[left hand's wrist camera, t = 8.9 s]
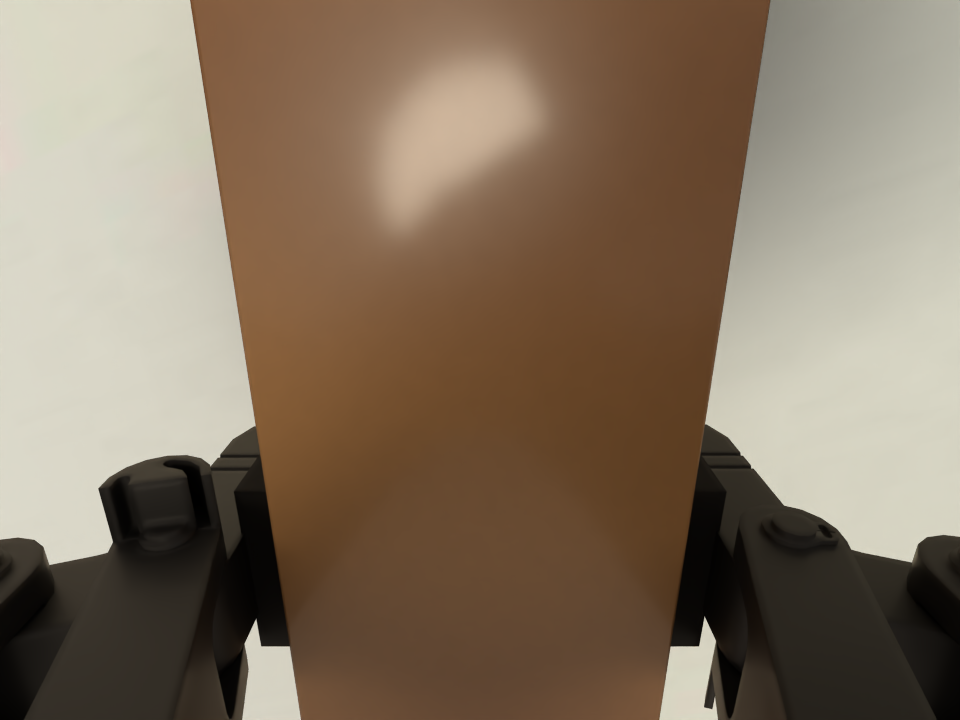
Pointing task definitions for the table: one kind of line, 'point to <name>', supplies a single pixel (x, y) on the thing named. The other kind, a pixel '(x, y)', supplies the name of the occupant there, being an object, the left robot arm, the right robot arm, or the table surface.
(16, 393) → the table surface
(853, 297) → the table surface
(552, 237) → the beam
